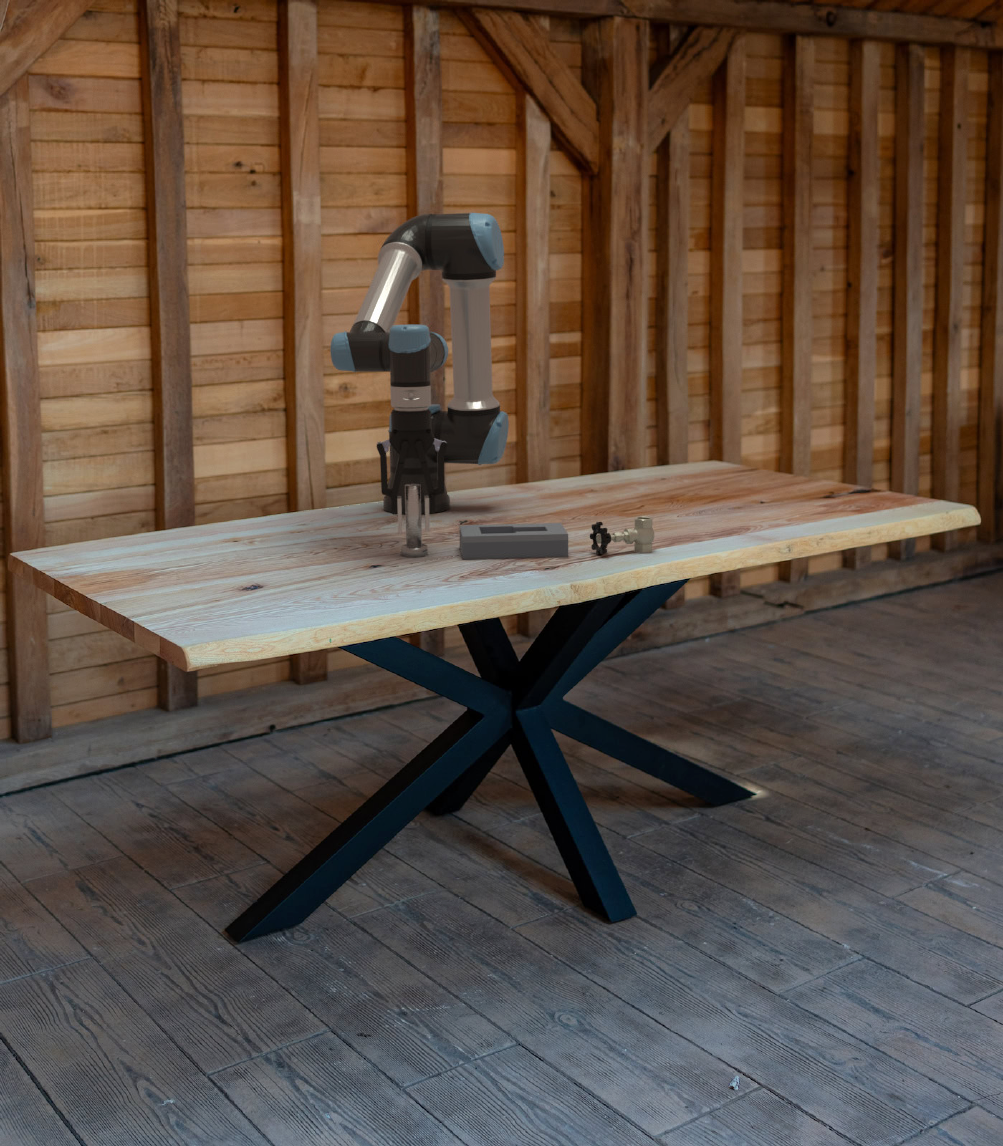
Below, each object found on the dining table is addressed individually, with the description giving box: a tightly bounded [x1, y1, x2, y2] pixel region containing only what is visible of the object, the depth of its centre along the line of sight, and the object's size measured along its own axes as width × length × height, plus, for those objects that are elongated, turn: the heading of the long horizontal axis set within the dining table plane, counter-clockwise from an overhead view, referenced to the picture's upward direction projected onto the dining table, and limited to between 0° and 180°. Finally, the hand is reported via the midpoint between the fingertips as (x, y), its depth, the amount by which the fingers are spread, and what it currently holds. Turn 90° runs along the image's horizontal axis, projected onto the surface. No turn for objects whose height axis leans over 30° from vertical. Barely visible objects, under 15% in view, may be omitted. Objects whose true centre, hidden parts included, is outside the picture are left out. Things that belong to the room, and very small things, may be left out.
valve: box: [589, 515, 655, 557], centre depth 259 cm, size 7×7×12 cm
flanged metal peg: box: [400, 484, 429, 559], centre depth 257 cm, size 5×5×14 cm
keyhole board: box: [458, 522, 569, 560], centre depth 260 cm, size 20×11×4 cm, turn 95°
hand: (413, 530), depth 258 cm, fingers open, 4 cm apart
